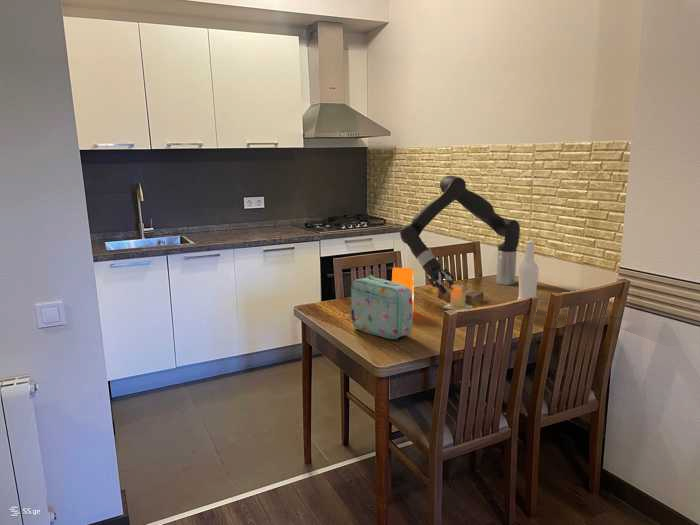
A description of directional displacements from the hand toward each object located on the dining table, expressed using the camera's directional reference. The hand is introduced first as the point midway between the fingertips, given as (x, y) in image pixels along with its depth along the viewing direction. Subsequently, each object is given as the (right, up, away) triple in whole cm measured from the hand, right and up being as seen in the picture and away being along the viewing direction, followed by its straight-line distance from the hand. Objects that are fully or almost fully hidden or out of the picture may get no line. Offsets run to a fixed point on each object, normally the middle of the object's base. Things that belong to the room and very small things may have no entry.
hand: (450, 290), depth 221 cm
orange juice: (-22, -9, -7) cm, 25 cm away
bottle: (+32, -8, -6) cm, 33 cm away
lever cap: (+3, -7, -1) cm, 8 cm away
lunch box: (-33, -15, -29) cm, 46 cm away
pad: (+3, -7, -1) cm, 8 cm away
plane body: (+7, -5, +12) cm, 15 cm away
